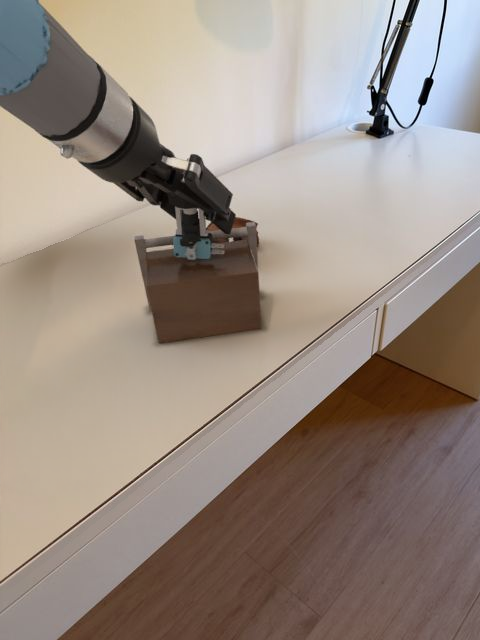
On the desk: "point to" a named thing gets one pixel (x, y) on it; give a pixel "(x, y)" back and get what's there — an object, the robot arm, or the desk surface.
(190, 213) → the push button
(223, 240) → the pottery mug
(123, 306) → the desk surface
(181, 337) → the box
